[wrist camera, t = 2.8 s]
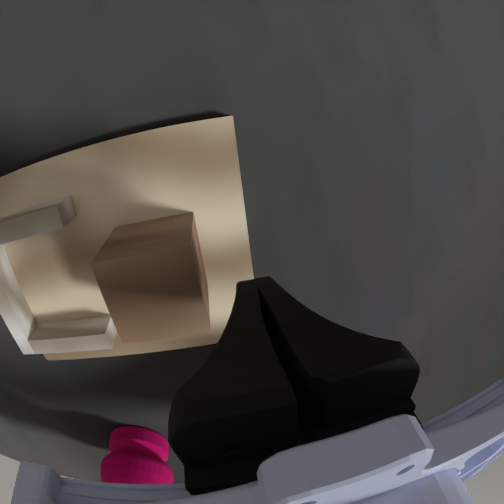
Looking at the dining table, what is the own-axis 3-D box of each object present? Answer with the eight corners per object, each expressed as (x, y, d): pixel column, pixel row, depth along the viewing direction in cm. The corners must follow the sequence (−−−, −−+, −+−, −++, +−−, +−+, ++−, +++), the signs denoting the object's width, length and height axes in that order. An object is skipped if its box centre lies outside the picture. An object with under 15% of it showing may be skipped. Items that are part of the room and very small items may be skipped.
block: (207, 283, 18) (210, 331, 14) (136, 295, 18) (122, 343, 14) (193, 212, 16) (190, 245, 12) (115, 227, 16) (90, 263, 12)
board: (258, 326, 22) (266, 355, 19) (50, 352, 20) (39, 377, 17) (230, 115, 15) (236, 115, 13) (-18, 185, 14) (-44, 198, 11)
